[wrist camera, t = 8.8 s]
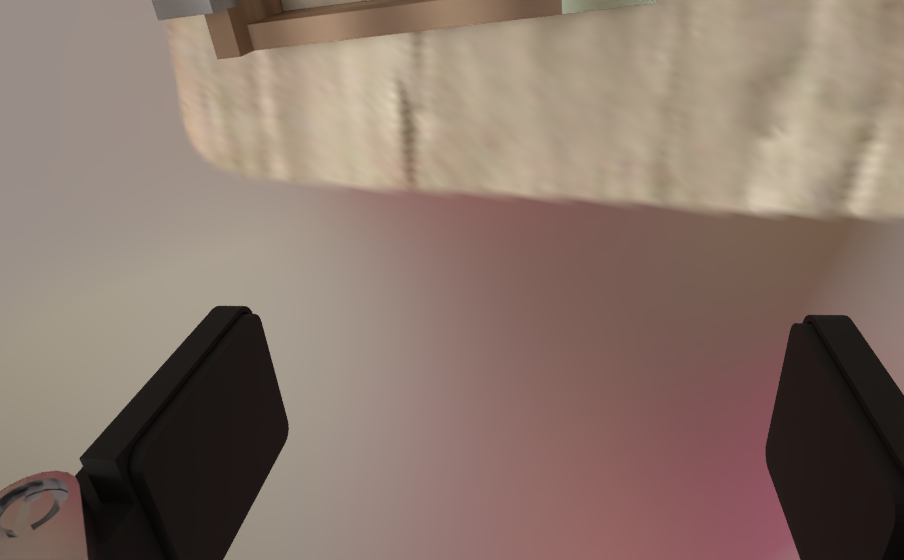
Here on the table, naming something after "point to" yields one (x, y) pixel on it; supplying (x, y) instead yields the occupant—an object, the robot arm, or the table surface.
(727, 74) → the table surface
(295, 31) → the bay
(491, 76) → the table surface
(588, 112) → the table surface
